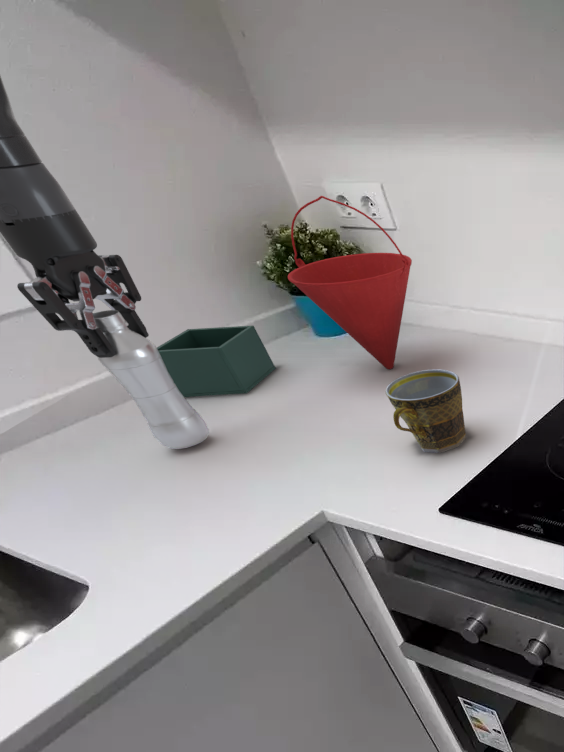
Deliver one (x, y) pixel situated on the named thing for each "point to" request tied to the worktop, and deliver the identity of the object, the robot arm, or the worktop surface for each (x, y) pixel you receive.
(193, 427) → the plastic bottle
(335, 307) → the fire bucket
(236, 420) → the worktop surface
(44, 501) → the worktop surface
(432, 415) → the ceramic cup
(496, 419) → the worktop surface
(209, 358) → the bin
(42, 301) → the robot arm
